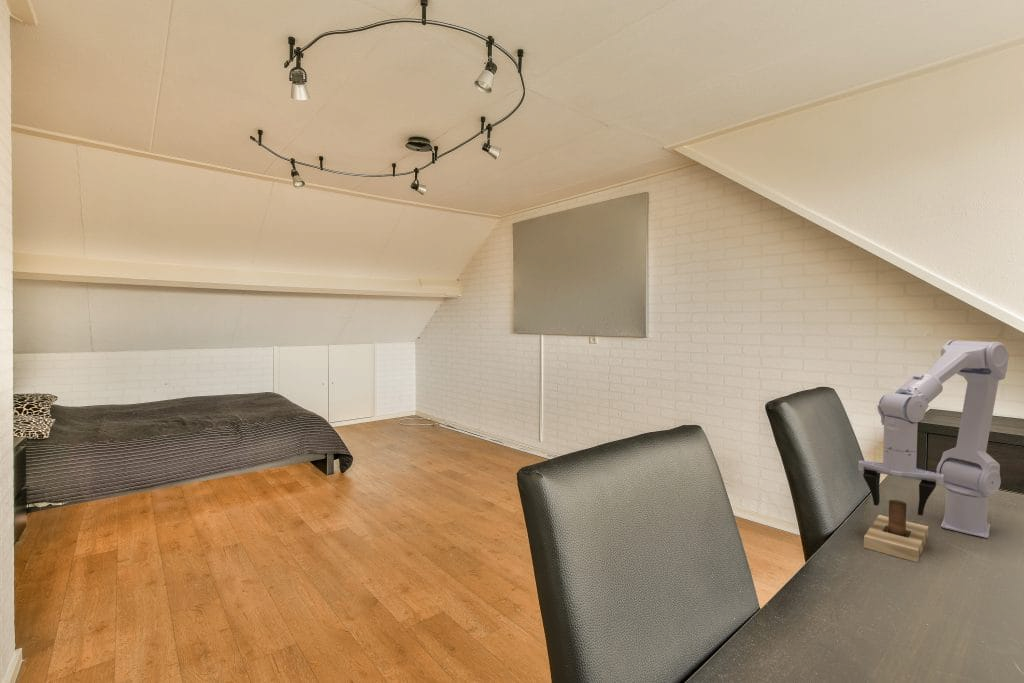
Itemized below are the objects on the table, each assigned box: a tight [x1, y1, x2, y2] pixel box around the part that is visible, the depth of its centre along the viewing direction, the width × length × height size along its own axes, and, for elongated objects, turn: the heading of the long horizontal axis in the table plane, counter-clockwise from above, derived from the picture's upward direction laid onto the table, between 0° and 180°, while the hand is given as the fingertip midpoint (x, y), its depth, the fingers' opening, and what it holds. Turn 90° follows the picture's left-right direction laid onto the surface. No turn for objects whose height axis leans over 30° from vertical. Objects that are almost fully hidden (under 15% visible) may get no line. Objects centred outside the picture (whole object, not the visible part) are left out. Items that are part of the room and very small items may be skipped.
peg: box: [888, 499, 908, 537], centre depth 107 cm, size 3×3×9 cm
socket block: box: [863, 514, 929, 563], centre depth 107 cm, size 16×9×2 cm, turn 134°
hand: (898, 508), depth 107 cm, fingers open, 7 cm apart
